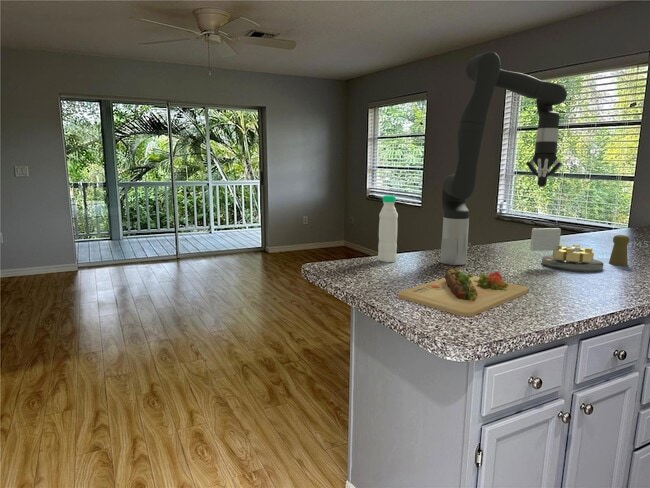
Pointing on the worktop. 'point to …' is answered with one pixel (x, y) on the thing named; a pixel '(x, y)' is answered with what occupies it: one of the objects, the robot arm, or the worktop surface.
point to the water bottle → (388, 230)
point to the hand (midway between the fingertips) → (541, 186)
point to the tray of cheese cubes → (572, 263)
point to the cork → (619, 251)
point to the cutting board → (464, 292)
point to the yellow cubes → (557, 245)
